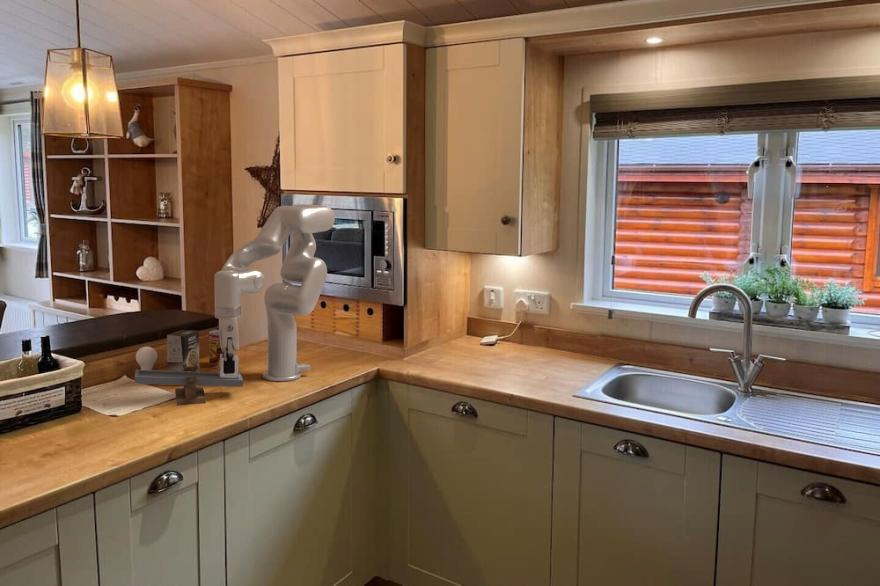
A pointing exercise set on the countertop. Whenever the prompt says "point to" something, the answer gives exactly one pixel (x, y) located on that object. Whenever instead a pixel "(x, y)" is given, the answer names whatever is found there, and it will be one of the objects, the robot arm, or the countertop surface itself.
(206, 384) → the beam
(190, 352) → the coffee box
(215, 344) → the canned food
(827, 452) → the countertop surface
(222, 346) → the robot arm
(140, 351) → the lightbulb
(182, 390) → the fulcrum stand
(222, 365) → the rider
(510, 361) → the countertop surface
